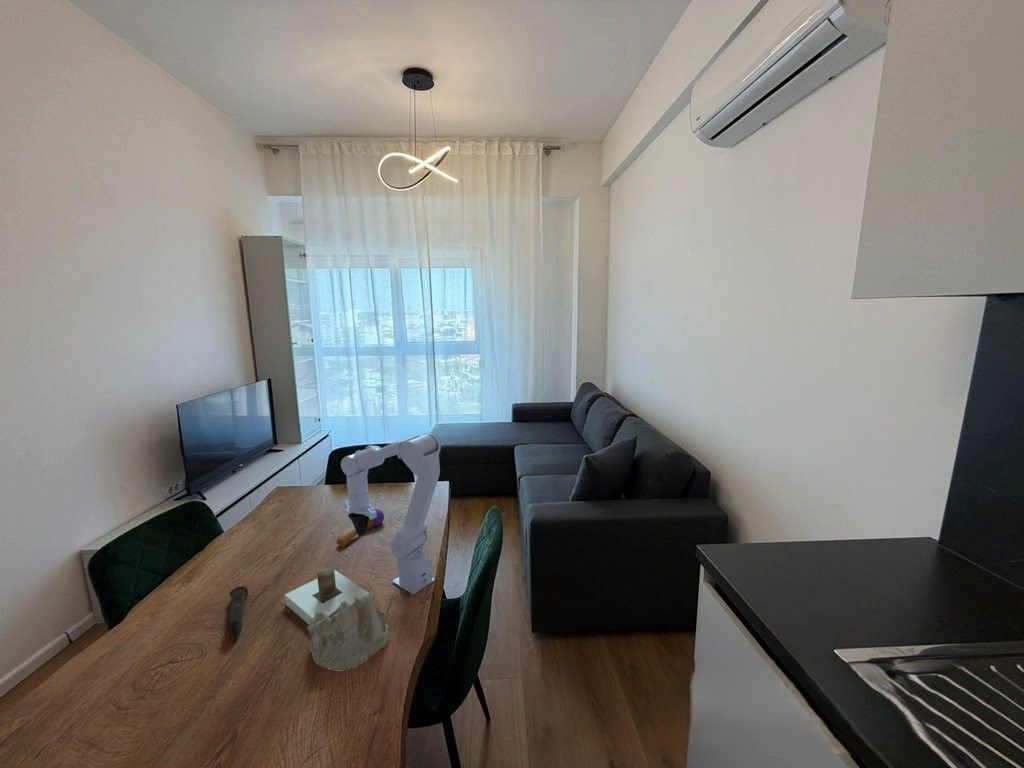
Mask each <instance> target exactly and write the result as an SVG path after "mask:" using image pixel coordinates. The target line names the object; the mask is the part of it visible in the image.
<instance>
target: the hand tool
mask: <svg viewBox="0 0 1024 768" xmlns="http://www.w3.org/2000/svg"><path fill="white" fill-rule="evenodd" d="M248 596H249V592H248V588H247V586H245V585H243V586H237V587H234V588H233V589H232V590H231V591H230V592H229V597H230V599H231V600H230V602H229V603H228V604H229V605H228V606H229V608H230V609H229V615H228V630H229V634H230V638H231V639H232V641H233V642H234V643H235V642H236V641H238V639H239V636H240V635H241V631H242V629H243V619H244V613H245V605H246V599H247V597H248Z"/></svg>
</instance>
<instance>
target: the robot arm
mask: <svg viewBox="0 0 1024 768" xmlns="http://www.w3.org/2000/svg"><path fill="white" fill-rule="evenodd" d="M441 448H442V447H441V444H440V443H439V441H438V439H437V437H436V436H435V435H434V434H432V433H430V432H425V433H423V434H416V435H413V436H409V437H405V438H402V439H400V440H397V441H395V442H392V443H390V444H386V445H385V446H383V447H381V446H378V445H372V444H370V445H368V446H365V449H362V450H361V449H358V450H356V451H355V453H352V454H350V455H345V456H344V457H343V458H342V459H341V461H340V468H341V470H342V472H343V473H344V474H345V475H346V476H345V477H346V484H347V485H346V486H347V497H348V498H347V500H344V501H343V507H344V508H345V513H347V514H348V515H347V516H348V518H349V520H351V522H352V525H353V526H354V530H355V529H356V532H357V535H356V536H358V537H360V538H361V537H363V536H365V535H366V534H367V531H368V528H367V526H368V522H369V519H370V520H372V519H374V518H376V517H377V514H376V511H375V510H374V509H375V508H373V507H372V505H371V503H370V495H369V485H368V484H369V481H368V475H369V469H372V468H376V467H378V466H381V465H382V464H383V463H384V462H385V459H386V458H387V459H388V458H391V457H393V456H396V455H397V457H398V459H399V460H401V461H403V462H404V464H405V465H406V466H407V468H408V469H410V471H411V472H412V473H413V474H414V475H415V476H417V478H416V482H415V485H414V489H413V492H412V494H411V495H412V496H411V499H410V501H409V505H408V507H407V512H406V515H405V517H404V518H405V519H404V522H403V523H402V524H401V526H400V527H399V528H398V530H397V531H396V533H395V536H394V537H393V538H392V539H391V540H390V544H389V545H390V551H391V552H392V553H391V554H393V555H394V556H395V558H397V572H398V576H397V577H396V578H394V579H393V580H392V583H393V584H395V585H396V586H399V588H402V589H403V590H404V591H407V592H408V593H410V594H412V595H415V594H416V593H418V592H419V591H421V590H422V589H424V588H426V587H427V586H429V585H430V584H432V583H433V582H435V578H434V577H433V572H432V571H433V568H432V561H431V559H430V558H428V557H427V556H426V554H425V553H424V548H425V543H427V541H428V528H429V525H428V524H427V522H426V519H427V517H428V513H429V509H430V507H431V503H432V501H433V500H432V499H433V497H434V494H435V491H436V487H437V484H438V481H439V477H440V476H441V475H440V473H441V467H440V452H441Z"/></svg>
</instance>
